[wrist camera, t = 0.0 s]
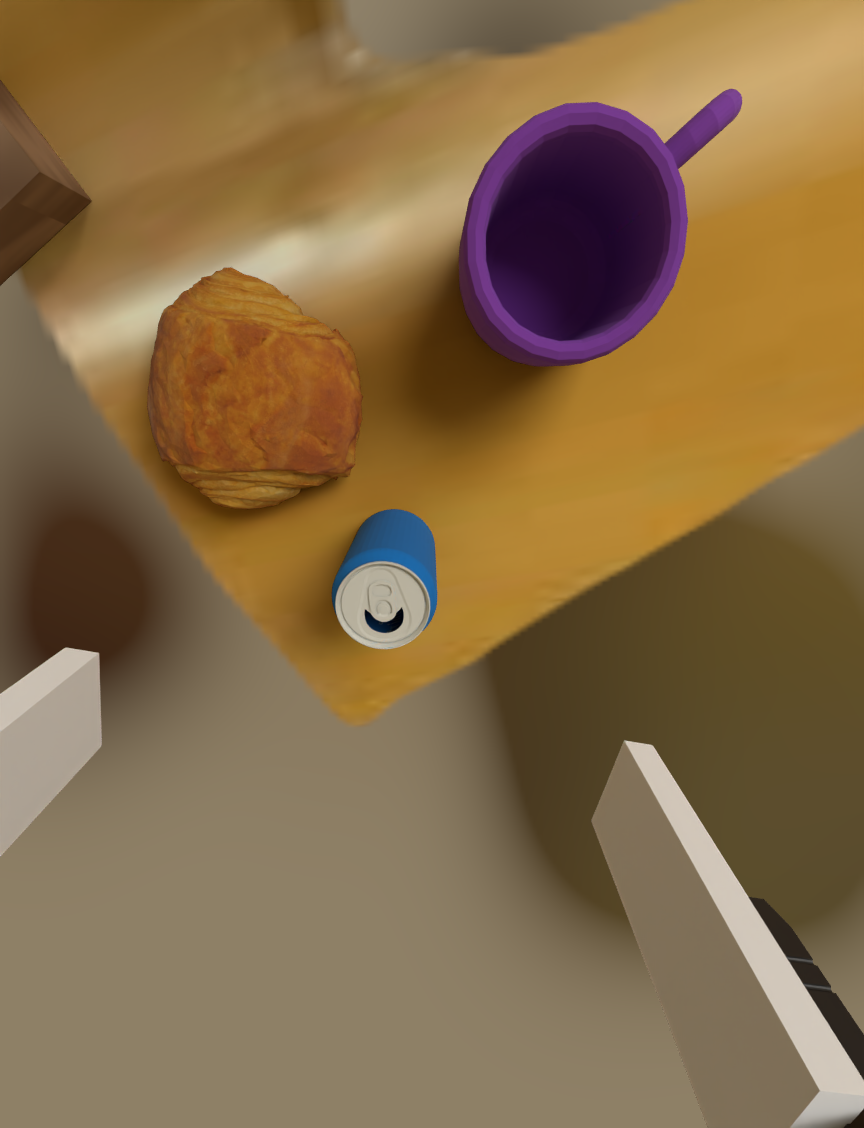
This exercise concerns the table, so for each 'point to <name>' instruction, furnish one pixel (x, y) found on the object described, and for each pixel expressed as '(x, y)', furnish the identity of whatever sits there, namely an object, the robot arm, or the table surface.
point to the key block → (30, 188)
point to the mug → (578, 230)
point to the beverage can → (387, 581)
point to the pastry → (251, 393)
